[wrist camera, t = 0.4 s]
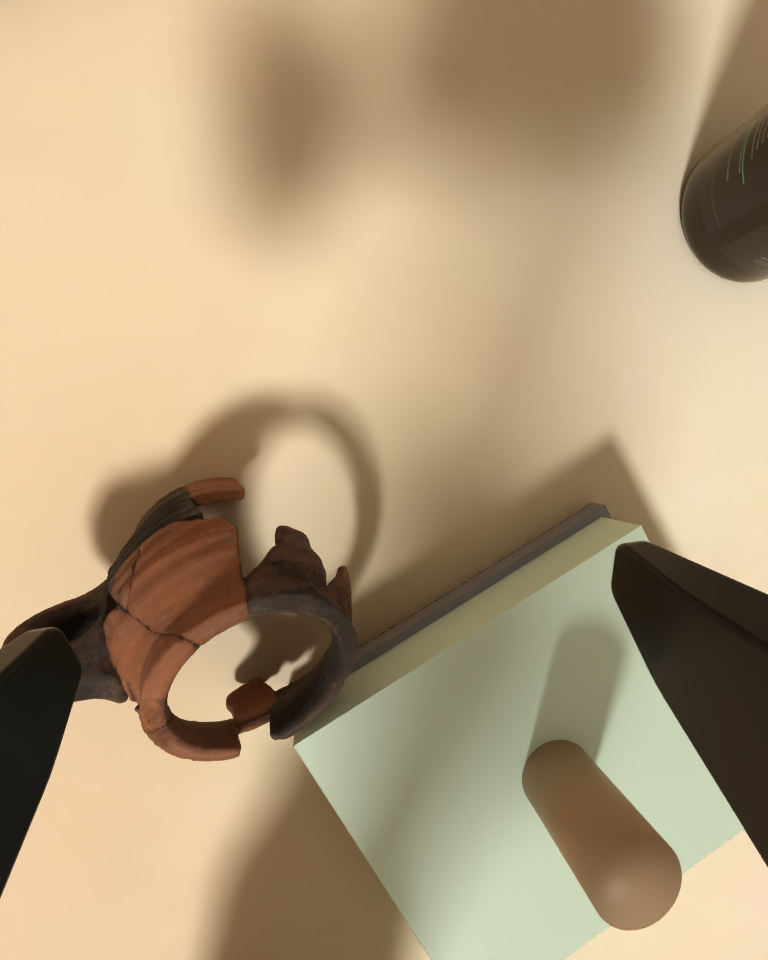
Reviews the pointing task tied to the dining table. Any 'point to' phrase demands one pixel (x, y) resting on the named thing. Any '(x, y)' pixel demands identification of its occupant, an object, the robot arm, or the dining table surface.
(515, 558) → the mat
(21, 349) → the dining table surface
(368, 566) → the dining table surface
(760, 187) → the supplement bottle
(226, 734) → the pottery mug
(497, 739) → the lid
